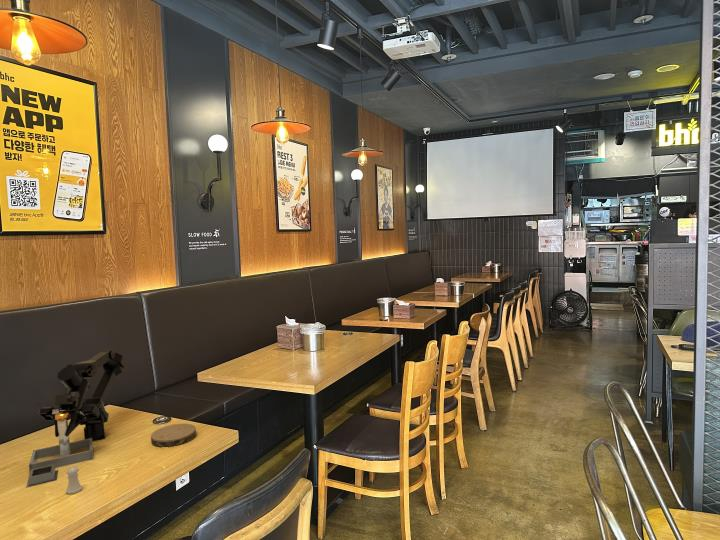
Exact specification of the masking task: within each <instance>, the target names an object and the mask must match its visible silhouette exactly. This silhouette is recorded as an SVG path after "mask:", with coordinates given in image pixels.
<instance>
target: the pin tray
mask: <svg viewBox="0 0 720 540" xmlns="http://www.w3.org/2000/svg"><path fill="white" fill-rule="evenodd" d="M93 442H94V441H92V438H89V439H80V440H75V441H72V442H71V441H70V452H71V453H72V452H74V451H75V452H76V451H79V450H83V449H88V448H89V450H86V451H82V452H78V453H73V454H69V455H67V456H60V457H55V458H51V459H45V460H41V461H37V460H38V459H43V458H47V457H52V456H57V455H60V445H59V444H57V445H51V446H48V447H42V448H38V449H34V450H32V452H31V457H30V460H29V464H28V469H29V471H30V470H31V469H36V468H40V467H45V466H49V465H53V464H55V469H56V468H62V467H65V466H71V465H75V464H79V463H83V462H86V461H87V462H88V461H91V460H94V451H93V450H94V447H93V446H94V445H93Z"/></svg>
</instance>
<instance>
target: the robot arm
mask: <svg viewBox="0 0 720 540" xmlns="http://www.w3.org/2000/svg"><path fill="white" fill-rule="evenodd" d="M127 364H128V362H127V359H126V358H125V356H124V355H123V354H121V353H118V352H116V351H115V350H114V349H102V350H100V351H99V352H98V353H97V354H95V355H93V356H92V357H91V358H89V359H88V360H85V361H80V362H76V363H68V364H67V365H66V366H65V367H63V368H61V369H60V370H59V371H58V373H57V379H58V380H59V381H60V382H61V384H63V385H64V386H65V388H67V389H68V390H67V392H66V393H64V394H55V395H54V399H53V405H54V406H55V405H56V406H57V405H58V406H57V408H58V409H56V408H55V407H54V406H46V407H45V406H43V407H40V409H39V410H38V413H37V415H38V416H39V417H40V418H41V419H43V421H47V422H52V421H53V423H54V436H55V437H56V438H59V435H58V424H57V420H55V414H57V413H59V412H64V411H67V412H69V416H70V421H68V428H67V430H66V434H65V436H69V437H70V435H71V433H72V432H74V430H75V429H76V428H77V427H79V425H80V426H84V427H83V437H84V439H89V438H92V442H94V441H100V440H104V439H106V432H105V423H107V422H109V417H110V416H109V415H110V414H109V413H108V412H107V410H106V409H105V406H104V405H105V404H104V402H105V401H106V398H107V396H108V395H109V393H110V390H111V388H112V386H113V383H114V381H115V379H116V377H118V376H119V375H121V374H122V373H123V372H124V371H125V369H126V368H127ZM101 367H102V369H103V374H102V375H101V377H100V379H99V381H98V383H97V385H96V387H95V389H94V391H93V394H92V395H91V397H90V398H85V396H86V393H87V391H88V389H90V388H92V387H91V386H92V385H91V383H90V382H89V380H87V379H92V378H94V377H95V376H96V375H97V374H98V369H100V368H101ZM84 439H83V440H84Z"/></svg>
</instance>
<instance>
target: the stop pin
mask: <svg viewBox="0 0 720 540" xmlns="http://www.w3.org/2000/svg"><path fill="white" fill-rule="evenodd" d="M68 418H70V415H69V412H67V411H64V412H59V413H57V414H55V420H57V424H58V435H59V436H58V445H60V454H59V456H60V457H62V456H67V455H71V453H72V451H71V452H70V442H71V441H70V435H69V436H65V434H66V430H67V428H68V425H69V420H68Z"/></svg>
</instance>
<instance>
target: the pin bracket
mask: <svg viewBox="0 0 720 540" xmlns="http://www.w3.org/2000/svg"><path fill="white" fill-rule="evenodd" d="M58 475H59V469H57V470H56V468H55V464H53V465H49V466H45V467H40V468H36V469H31V470H29V474H28V478H27V483H26V486H25V488H32V487H34V486H38V485H39V486H40V485H43V484H48V483H51V482H55V481H58Z"/></svg>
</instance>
